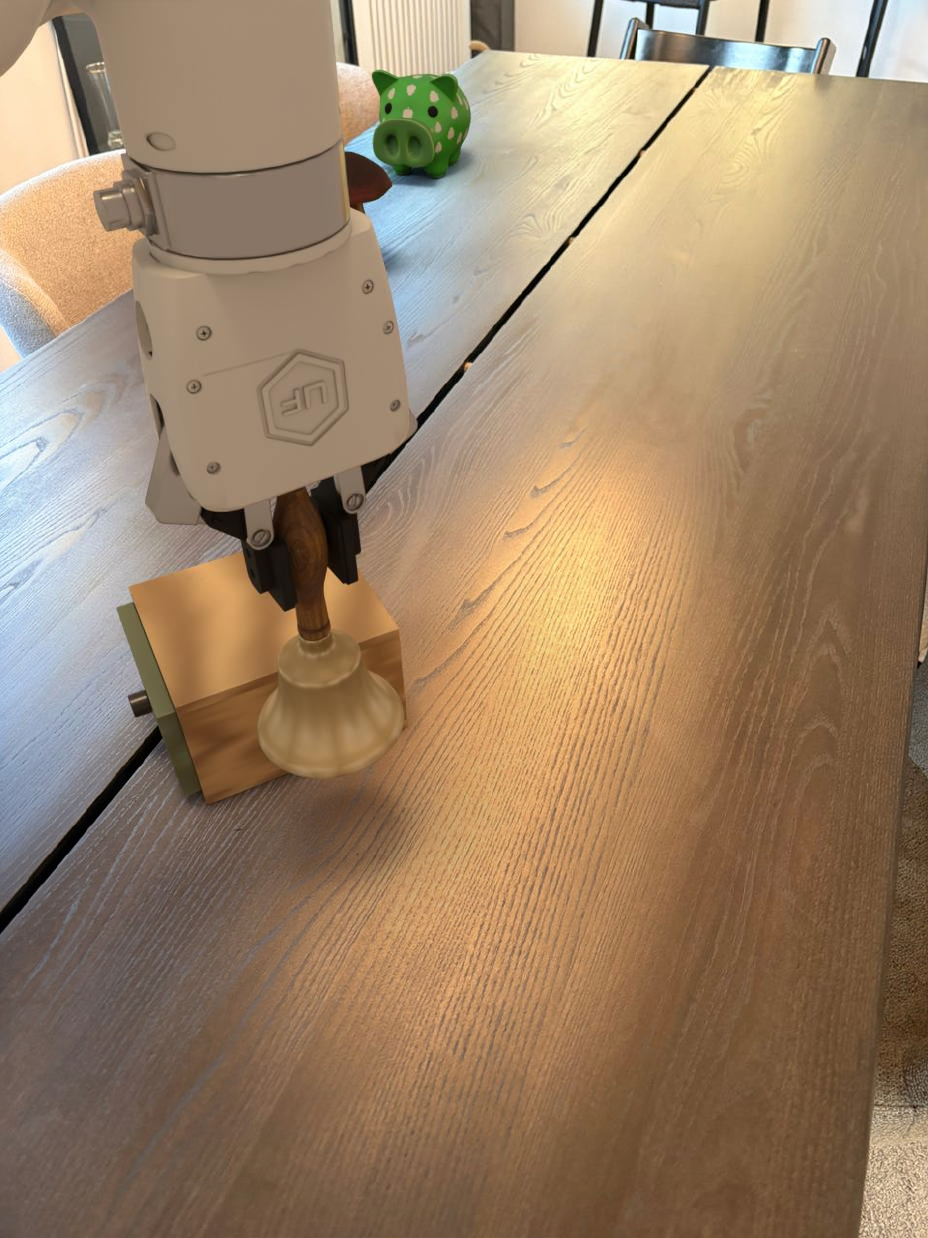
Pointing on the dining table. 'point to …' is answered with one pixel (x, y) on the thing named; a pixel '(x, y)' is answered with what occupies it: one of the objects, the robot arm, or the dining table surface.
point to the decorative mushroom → (364, 180)
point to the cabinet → (243, 659)
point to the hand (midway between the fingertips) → (308, 579)
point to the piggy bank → (420, 122)
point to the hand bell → (322, 671)
